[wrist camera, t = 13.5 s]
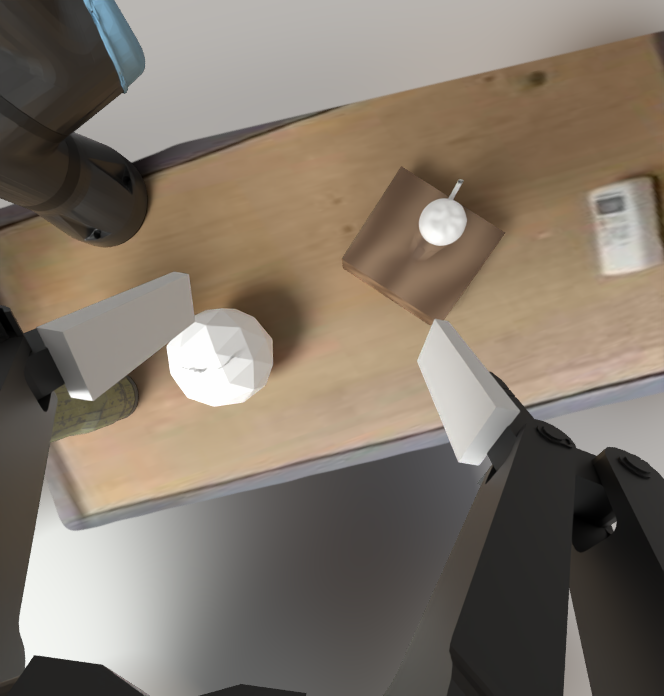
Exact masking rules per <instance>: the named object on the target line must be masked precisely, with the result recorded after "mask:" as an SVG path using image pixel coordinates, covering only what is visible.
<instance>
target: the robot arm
mask: <svg viewBox="0 0 664 696" xmlns="http://www.w3.org/2000/svg"><path fill="white" fill-rule="evenodd" d="M144 68H145V57H144V54H143V50H142V48H141V46H140V44H139V42H138V40H137V38H136V37H135V35H134V33H133V31H132V30H131V28H130V26H129V24H128V23H127V21H126V19H125V18H124V16H123V14H122V13H121V11H120V9H119V8H118V6H117V4H116V2H115V1H114V0H0V198H1V199H4V200H6V201H9V202H12V203H14V204H17V205H19V206H22V207H25V208H27V209H30V210H32V211H34V212H35V213H37V214H38V215H40V216H41V217H43V218H44V219H46V220H47V221H48V222H50V223H51V224H53V225H54V226H56V227H57V228H59V229H60V230H62V231H63V232H65V233H66V234H68V235H69V236H71V237H73V238H75V239H77V240H79V241H82V242H85V243H88V244H91V245H94V246H98V247H112V246H116V245H119V244H121V243H123V242H125V241H127V240H128V239H130V238H131V237H132V236H133V235H134V234H135V233H136V232H137V230H138V229H139V227H140V226H141V224H142V222H143V220H144V217H145V214H146V209H147V192H146V187H145V184H144V181H143V179H142V176H141V175H140V173H139V171H138V170H137V169H136V167H135V166H134V165H133V164H132V163H131V162H130V161H128V160H127V159H126V158H125V157H123V156H122V155H121V154H119V153H118V152H117V151H115V150H114V149H112V148H110V147H108V146H106V145H104V144H102V143H99V142H96V141H94V140H92V139H89V138H87V137H84V136H82V135H80V134H77V133H75V132H74V131H75V130H77V129H78V128H79V127H80V126H81V125H83V124H84V123H85V122H87V121H88V120H89V119H90V118H92V117H93V116H94V115H95V114H97V112H99V111H100V110H102V109H103V108H104V107H105V106H106V105H108V104H109V103H110V102H111V101H113V100H114V99H115V98H116V97H118V96H119V95H120V94H121V93H124V94H125V93H127V90H128V86H129V85H130V84H132V83H133V82H134V81H135V80H136V79H137V78H138V77H139V76H140V75H141V74H142V73H143V71H144ZM194 322H195V317H194V309H193V301H192V294H191V286H190V278H189V274H185V273H180V272H172V273H169V274H167V275H164V276H162V277H159V278H157V279H154V280H152V281H150V282H147V283H145V284H142V285H140V286H137V287H135V288H132V289H130V290H127V291H125V292H122V293H120V294H117V295H115V296H112V297H110V298H107V299H105V300H102V301H100V302H98V303H95V304H93V305H90V306H88V307H85V308H83V309H80V310H78V311H75V312H73V313H70V314H68V315H65V316H63V317H60V318H58V319H55V320H53V321H50V322H48V323H46V324H43V325H41V326H38V327H36V329H33V330H31V331H28V332H26V333H23V332H22V330H21V328H20V326H19V324H18V322H17V320H16V319H15V317H14V315H13V313H12V311H11V309H10V308H8V307H6V306H2V305H0V696H149V695H148V694H147V693H145V692H144V691H142V690H141V689H139V688H138V687H136V686H135V685H133V684H132V683H130V682H128V681H127V680H125V679H124V678H122V677H121V676H119V675H117V674H116V673H114V672H113V671H111V670H110V669H108V668H107V667H105V666H103V665H100V664H92V663H86V662H79V661H71V660H64V659H58V658H50V657H43V656H34V657H33V658H32V659H31V661H30V662H29V664H28V665H27V667H26V668H25V651H24V645H23V642H22V639H21V636H20V633H19V614H20V608H21V603H22V597H23V592H24V586H25V580H26V574H27V569H28V563H29V558H30V553H31V547H32V541H33V535H34V530H35V525H36V519H37V514H38V508H39V502H40V497H41V491H42V486H43V480H44V475H45V469H46V463H47V458H48V452H49V447H50V441H51V436H52V430H53V424H54V419H55V413H56V408H57V402H58V398H57V395H56V393H55V391H54V390H56V389H57V388H59V387H60V386H62V385H64V384H65V386H66V388H67V390H68V392H69V394H70V396H71V398H77V399H83V400H89V401H94V400H95V399H97V398H98V397H99V396H100V395H102V394H103V393H104V392H106V391H107V390H108V389H109V388H111V387H112V386H113V385H115V384H116V383H117V382H118V381H120V380H121V379H122V378H124V377H125V376H126V375H127V374H129V373H130V372H131V371H133V370H134V369H135V368H136V367H138V366H139V365H140V364H142V363H143V362H144V361H145V360H147V359H148V358H149V357H151V356H152V355H153V354H154V353H156V352H157V351H158V350H160V349H161V348H162V347H163V346H165V345H166V344H167V343H169V342H170V341H171V340H172V339H174V338H175V337H176V336H177V335H179V334H180V333H181V332H183V331H184V330H185V329H186V328H188V327H189V326H190V325H192V324H193V323H194ZM417 362H418V364H419V367H420V369H421V372H422V374H423V376H424V379H425V381H426V384H427V386H428V389H429V391H430V394H431V396H432V398H433V401H434V403H435V406H436V408H437V411H438V413H439V416H440V418H441V421H442V423H443V425H444V428H445V430H446V433H447V435H448V438H449V440H450V443H451V445H452V448H453V450H454V452H455V455H456V457H457V460H458V462H461V463H467V464H473V465H480V463H481V462H482V461H483V459H484V458H485V457H486V455H488V457H489V458H490V460H491V462H492V466H491V467H490V468H489V469H488V471H487V472H486V473H485V474H484V476H483V477H482V478H481V479H480V481H479V482H478V484H479V485H481V486H480V488H479V491H478V493H477V495H476V497H475V500H474V502H473V504H472V506H471V509H470V511H469V513H468V515H467V518H466V520H465V522H464V524H463V526H462V529H461V531H460V533H459V535H458V538H457V540H456V542H455V545H454V547H453V549H452V551H451V554H450V556H449V558H448V560H447V562H446V565H445V567H444V569H443V572H442V573H441V576H440V578H439V580H438V583H437V585H436V587H435V589H434V592H433V594H432V596H431V598H430V600H429V603H428V605H427V607H426V609H425V611H424V614H423V616H422V618H421V620H420V623H419V625H418V627H417V630H416V632H415V634H414V636H413V638H412V641H411V643H410V645H409V648H408V650H407V652H406V654H405V656H404V659H403V661H402V663H401V665H400V667H399V670H398V672H397V674H396V676H395V678H394V679H393V681H392V683H391V685H390V686H389V688H388V689H387V691H386V692H385V694H384V695H383V696H563V689H564V671H565V653H566V635H567V616H568V599H569V588H570V593H571V598H572V602H573V607H574V611H575V616H576V621H577V625H578V630H579V635H580V639H581V644H582V649H583V654H584V658H585V663H586V668H587V672H588V677H589V682H590V687H591V691H592V696H664V479H663V478H662V476H661V475H660V474H659V473H658V472H657V471H656V470H655V469H653V468H652V467H651V466H650V465H649V464H648V463H647V462H645V461H644V460H641V458H639V457H637V456H636V455H633V454H630V453H628V452H626V451H623V450H621V449H618V448H615V447H614V448H613V447H607V448H606V449H604V450H603V451H602V452H601V453H600V454H599V455H598V456H595V455H593V454H590V453H588V452H585V451H582V450H580V449H577V448H576V446H575V444H574V443H573V441H572V440H571V439H570V438H569V437H568V436H567V435H566V434H565V433H563V432H562V431H561V430H559V429H558V428H556V427H554V426H553V425H551V424H548V423H546V422H544V421H540V420H536V419H534V418H533V417H532V416H531V414H530V413H529V412H528V411H527V410H526V408H525V407H524V406H523V405H522V404H521V402H520V401H519V400H518V399H517V398H516V397H515V395H514V394H513V393H512V392H511V390H509V388H508V387H507V386H506V384H505V383H504V382H503V381H502V380H501V379H500V378H498V377H497V376H496V375H494V374H493V373H492V372H489V371H488V370H487V369H486V368H485V366H484V365H483V364H482V363H481V361H480V360H479V359H478V358H477V356H476V355H475V354H474V353H473V351H472V350H471V349H470V348H469V346H468V345H467V344H466V343H465V341H464V340H463V339H462V338H461V336H460V335H459V334H458V333H457V331H456V330H455V329H454V328H453V326H452V325H451V324H450V323H449V321H444V320H439V319H434V321H433V324H432V326H431V329H430V331H429V334H428V336H427V338H426V341H425V343H424V346H423V348H422V351H421V353H420V355H419V358H418V360H417ZM616 521H617V524H616V529H615V531H613V529H612V526H611V525H612V524H613V523H615V522H616ZM200 696H306V693H301V692H294V691H286V690H279V689H272V688H265V687H257V686H251V685H243V684H240V685H236V686H233V687H229V688H225V689H222V690H219V691H215V692H211V693H208V694H204V695H200Z"/></svg>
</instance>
